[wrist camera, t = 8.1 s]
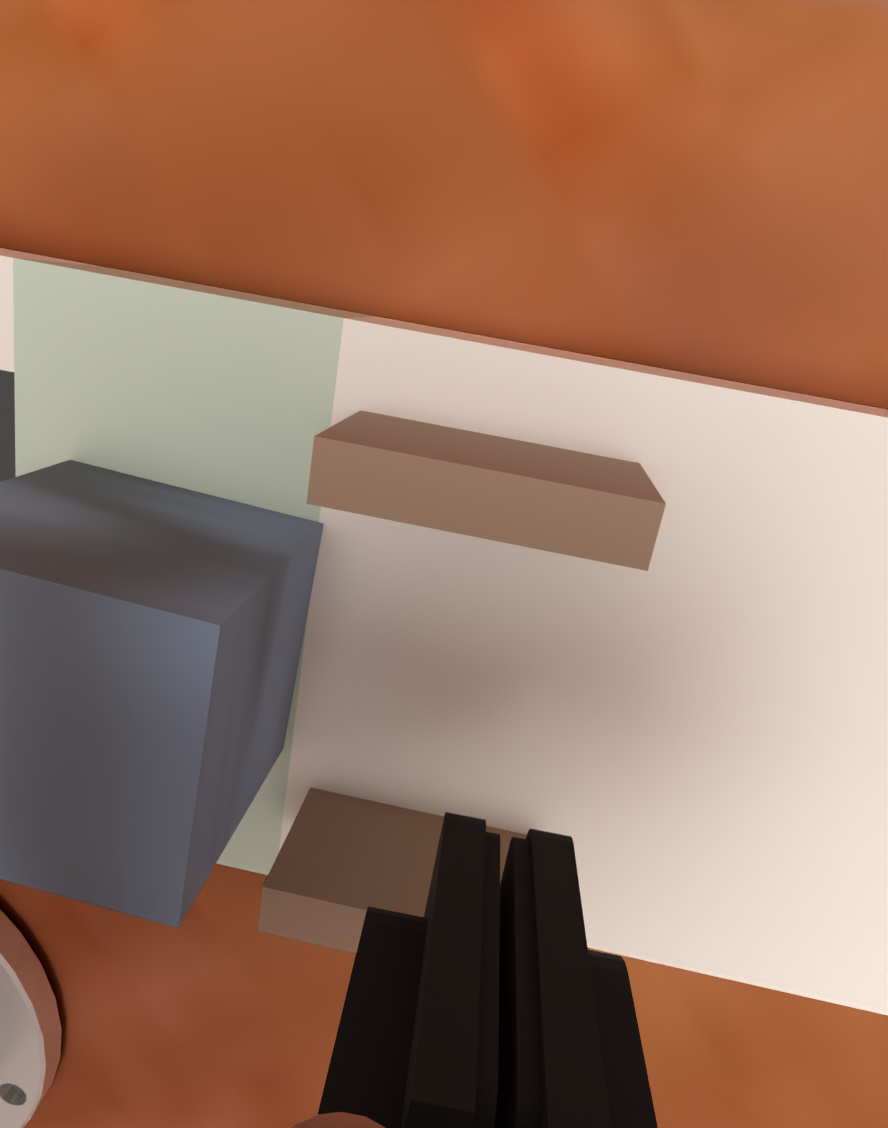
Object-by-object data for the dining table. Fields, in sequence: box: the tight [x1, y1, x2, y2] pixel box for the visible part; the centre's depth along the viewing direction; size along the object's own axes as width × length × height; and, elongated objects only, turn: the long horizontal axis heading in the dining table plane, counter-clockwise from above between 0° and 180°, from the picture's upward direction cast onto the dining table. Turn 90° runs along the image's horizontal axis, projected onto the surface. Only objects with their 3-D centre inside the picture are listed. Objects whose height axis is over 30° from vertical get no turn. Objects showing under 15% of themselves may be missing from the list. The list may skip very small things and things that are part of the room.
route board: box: [0, 248, 888, 1015], centre depth 15 cm, size 25×12×6 cm, turn 80°
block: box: [0, 460, 324, 928], centre depth 13 cm, size 5×5×5 cm
